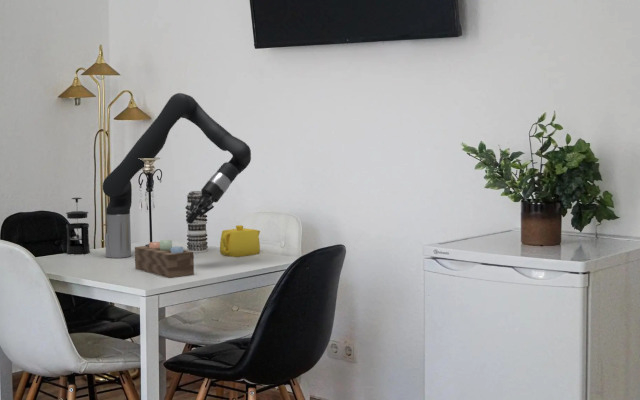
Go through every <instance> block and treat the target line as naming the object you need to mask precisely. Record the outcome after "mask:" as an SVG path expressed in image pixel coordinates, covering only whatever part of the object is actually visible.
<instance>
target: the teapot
mask: <svg viewBox="0 0 640 400" xmlns="http://www.w3.org/2000/svg"><path fill="white" fill-rule="evenodd" d="M260 232H261V230H257V229H254V228H245V227H244V225H242V224H241V225H235V228H231V229H225V230H222V231H221V233H220V235H221V236H220V241H219V252H220V255H222V256H225V257H234V258H241V257H250V256H255V255H260V250H261V243H260V237H259V236H260Z"/></svg>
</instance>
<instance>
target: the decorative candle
mask: <svg viewBox="0 0 640 400" xmlns="http://www.w3.org/2000/svg"><path fill="white" fill-rule="evenodd" d="M201 195H202V192H201V190H194V191H193V190H191V191H189V192H188V194H187V195H186V196H187V197H186V200H187V201H186V206H185V210H186V211H185V213H186V215H185V217H186V218H187V217H188V216H189V215H190V214H191V211H190V206H191V202H192V200H195V201H196V200H198V198H199V197H200V196H201ZM207 217H208V214H207V213H205V214H204V215H202V216H201V215H200V216H197V218H196V219H195V220H194V221H193V223H192V224H190V223H188V222H187V221H186V224H187V234H186V237H187V239H186V240H187V242H186V244H187V246H186V248H187V249H186V251H191V252H193V253H205V252H208V248H209V247H208V234H207V230H208V229H207V224H208V219H207Z"/></svg>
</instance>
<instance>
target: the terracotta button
mask: <svg viewBox="0 0 640 400" xmlns="http://www.w3.org/2000/svg"><path fill="white" fill-rule="evenodd" d="M148 246H149V248H160V241H151V242H148Z"/></svg>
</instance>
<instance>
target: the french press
mask: <svg viewBox="0 0 640 400" xmlns="http://www.w3.org/2000/svg"><path fill="white" fill-rule="evenodd" d="M71 200H75V203H76V207H78V203H79V200H83V198H82V197H72V198H71ZM65 214H66V216H67V217H66V218H67V219H73V220H74V219H75V220H76V222H72V223H67V224H66V225H65V226H66V237H67V238H66V239H67V244H66V255H71V254H74V255H87V254H90V253H91V250H90V244H89V243H90V242H89V241H90V239H89V227H90V223H88V222H79V219H87V218H88V214H89V212H88V211H83V210H78V208H76V210H73V211H69V212H68V211H67V212H65ZM76 229H77V230H76ZM79 229H81V230H80V232H81V235H80V234H79ZM75 230H76V231H77V235H75ZM76 241H81V243H76Z"/></svg>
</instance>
